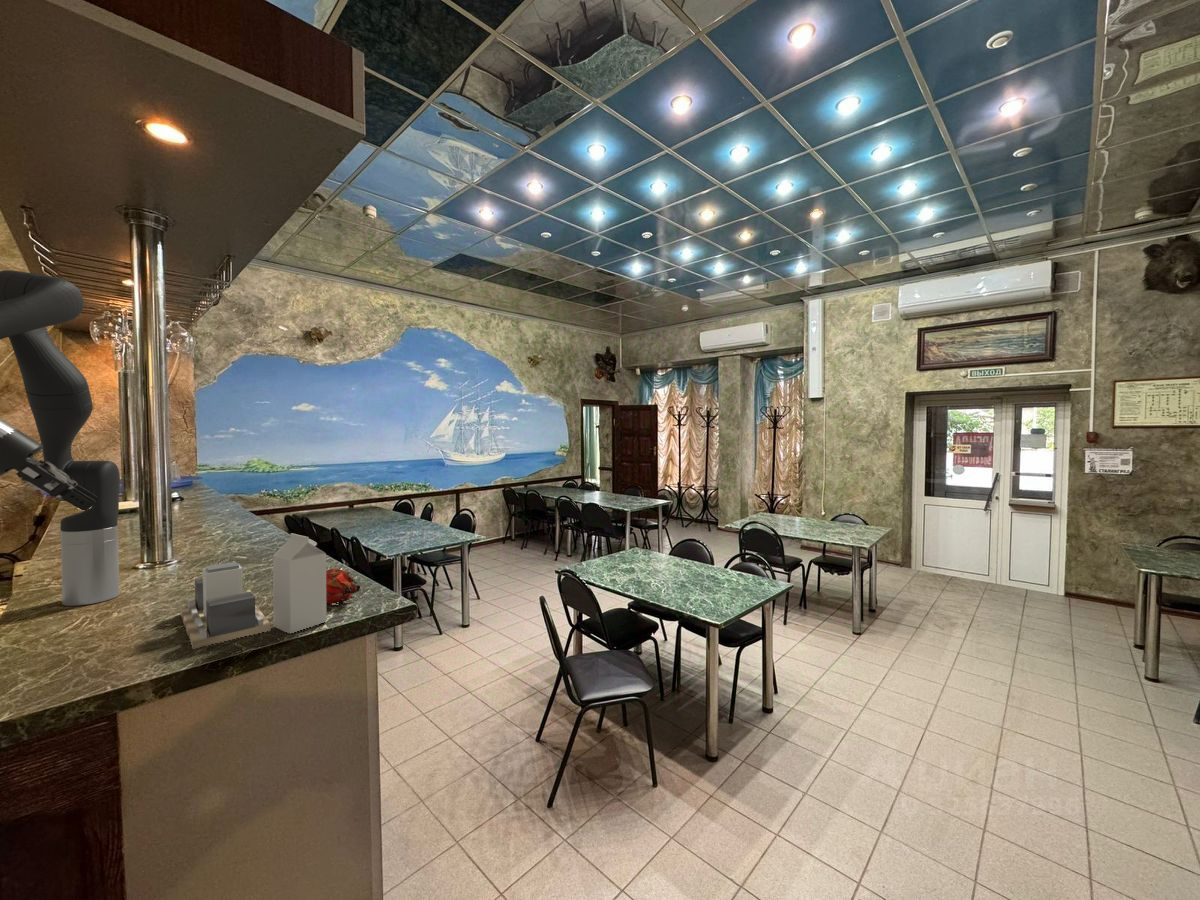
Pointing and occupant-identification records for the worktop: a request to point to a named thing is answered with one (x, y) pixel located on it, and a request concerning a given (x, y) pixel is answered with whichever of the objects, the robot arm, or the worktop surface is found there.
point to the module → (221, 581)
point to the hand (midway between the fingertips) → (91, 504)
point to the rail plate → (222, 618)
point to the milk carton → (299, 585)
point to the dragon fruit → (339, 585)
